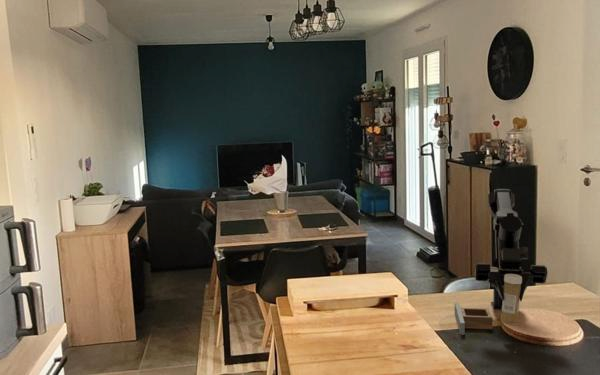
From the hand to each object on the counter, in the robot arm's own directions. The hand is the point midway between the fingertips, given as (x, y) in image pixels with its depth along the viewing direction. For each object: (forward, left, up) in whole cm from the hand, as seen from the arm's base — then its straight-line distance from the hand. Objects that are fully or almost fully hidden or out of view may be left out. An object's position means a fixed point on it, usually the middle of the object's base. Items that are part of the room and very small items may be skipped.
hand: (511, 300), depth 150 cm
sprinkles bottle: (-1, 0, -7) cm, 7 cm away
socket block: (-13, -8, -12) cm, 19 cm away
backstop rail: (-13, -13, -12) cm, 22 cm away
